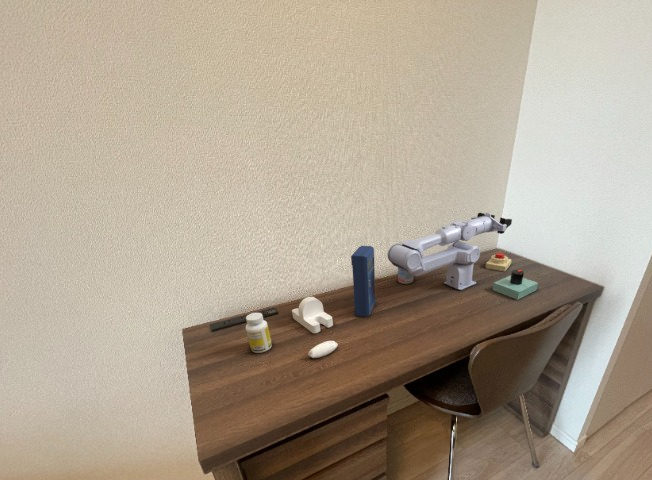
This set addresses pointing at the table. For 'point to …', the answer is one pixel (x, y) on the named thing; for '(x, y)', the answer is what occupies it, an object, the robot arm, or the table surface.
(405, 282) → the pill bottle
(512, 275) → the dial
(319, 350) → the white spindle
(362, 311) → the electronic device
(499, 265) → the control block
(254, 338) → the supplement bottle
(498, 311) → the table surface
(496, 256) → the button
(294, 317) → the slotted bracket
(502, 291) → the dial panel
